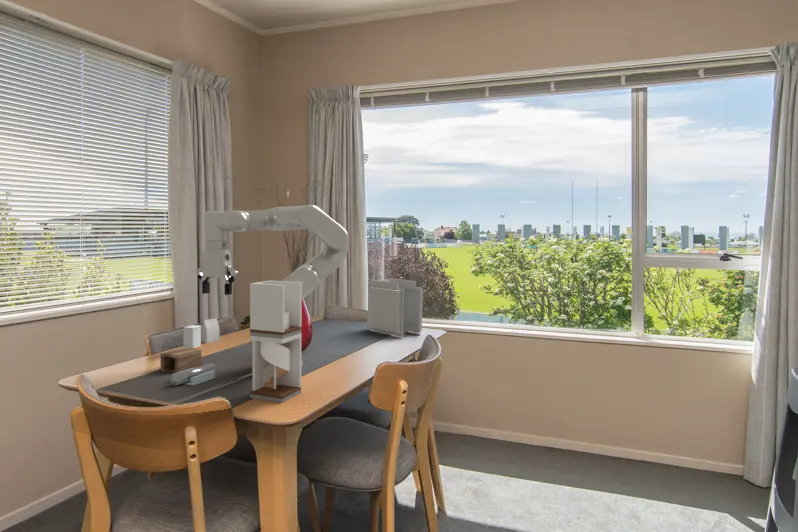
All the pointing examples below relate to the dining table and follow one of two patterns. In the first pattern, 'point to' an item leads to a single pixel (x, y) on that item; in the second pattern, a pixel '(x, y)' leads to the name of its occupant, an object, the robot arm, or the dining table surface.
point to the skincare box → (192, 336)
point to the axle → (190, 374)
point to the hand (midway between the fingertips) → (217, 293)
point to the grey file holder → (395, 306)
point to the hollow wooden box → (180, 359)
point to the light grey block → (210, 331)
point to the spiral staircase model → (276, 339)
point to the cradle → (200, 377)
